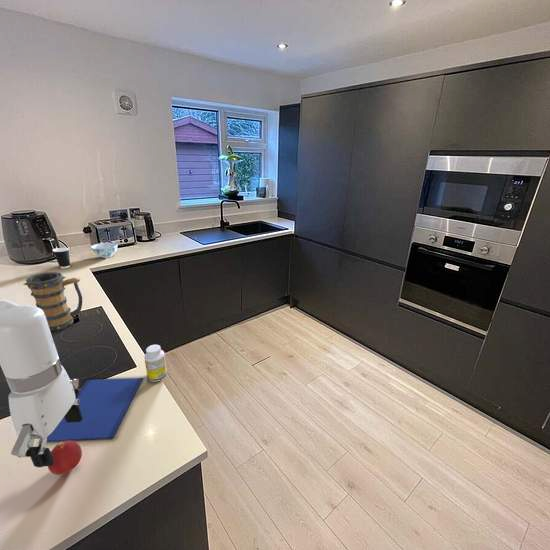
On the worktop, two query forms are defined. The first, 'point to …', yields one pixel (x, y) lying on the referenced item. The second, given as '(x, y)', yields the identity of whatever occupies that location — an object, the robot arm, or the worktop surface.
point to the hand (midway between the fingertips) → (61, 441)
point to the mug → (54, 298)
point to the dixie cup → (62, 257)
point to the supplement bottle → (155, 363)
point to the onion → (65, 457)
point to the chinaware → (105, 249)
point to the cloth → (99, 410)
